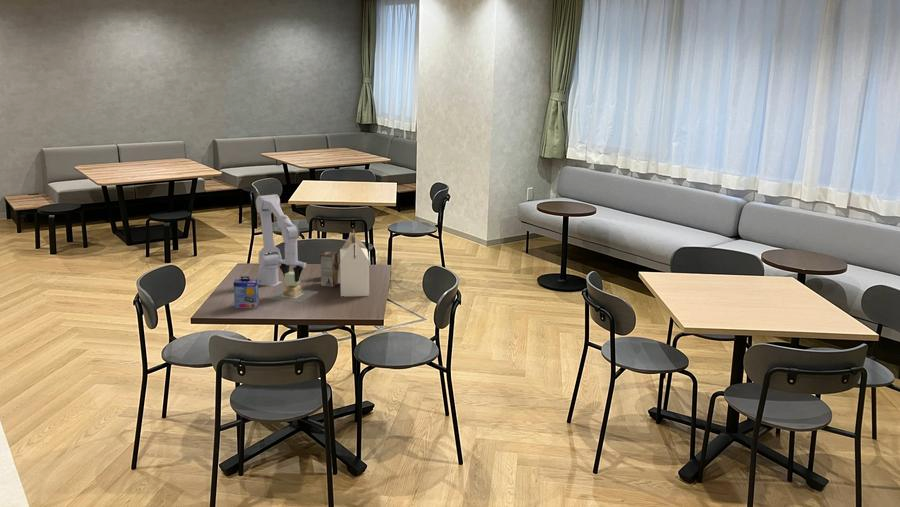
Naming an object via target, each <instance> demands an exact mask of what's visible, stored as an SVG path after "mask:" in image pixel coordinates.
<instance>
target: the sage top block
mask: <svg viewBox="0 0 900 507" xmlns="http://www.w3.org/2000/svg"><path fill="white" fill-rule="evenodd" d="M299 284H301V277H300V278H299V281H298V282H295V274H294V271H290V270H289V272H288V273H286V274H285V278H284V285H286V286H287V285H292V286H295V285H299Z"/></svg>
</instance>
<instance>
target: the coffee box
mask: <svg viewBox="0 0 900 507" xmlns="http://www.w3.org/2000/svg"><path fill="white" fill-rule="evenodd" d="M319 259H320V286H322V287H332V288H333V287H336V286H337V285H338V284H339V283H340V251H337V250H335V251H334V250H326V251H324V252H323V253H322V254H320V258H319ZM335 285H336V286H335Z"/></svg>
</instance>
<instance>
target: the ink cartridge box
mask: <svg viewBox="0 0 900 507" xmlns="http://www.w3.org/2000/svg"><path fill="white" fill-rule="evenodd" d="M259 298H260V297H259V285H258V278H250V277H249V275H248V276H247V275H245V276H244V275H243V276H240V278H236V279H234V281H233V300H234V309H258V308H259V307H258V306H259V305H260V299H259Z"/></svg>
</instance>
